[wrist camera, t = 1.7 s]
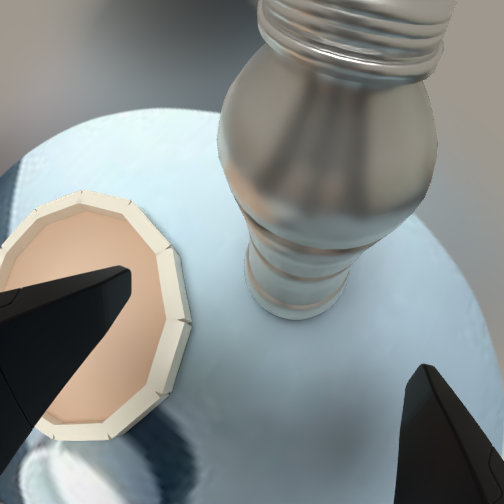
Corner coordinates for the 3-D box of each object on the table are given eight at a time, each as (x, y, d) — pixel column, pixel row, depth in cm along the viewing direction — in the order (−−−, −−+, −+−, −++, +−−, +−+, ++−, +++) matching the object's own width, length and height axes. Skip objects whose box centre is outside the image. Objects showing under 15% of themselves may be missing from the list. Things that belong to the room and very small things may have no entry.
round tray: (216, 423, 19) (210, 428, 17) (12, 434, 18) (-3, 436, 17) (167, 177, 26) (160, 164, 24) (-2, 237, 25) (-14, 229, 23)
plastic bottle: (233, 308, 22) (79, 22, 3) (264, 220, 24) (249, -82, 5) (325, 337, 21) (587, 153, 2) (349, 245, 23) (483, -26, 4)
